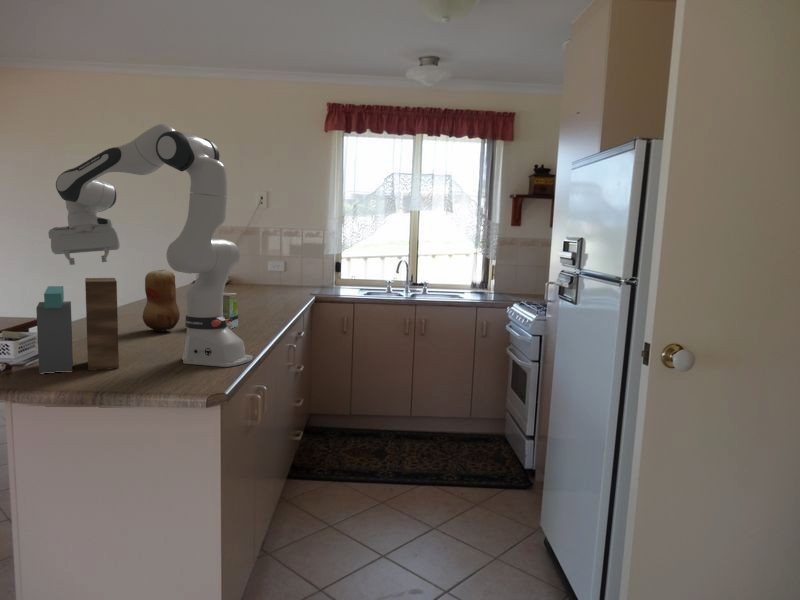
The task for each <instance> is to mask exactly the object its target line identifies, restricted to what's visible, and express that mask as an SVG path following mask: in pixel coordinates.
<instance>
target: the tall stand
mask: <svg viewBox="0 0 800 600" xmlns="http://www.w3.org/2000/svg"><path fill="white" fill-rule="evenodd" d="M84 280H85V281H84V282H85V289H84V290H85V307H86V309H85V316H86V317H85V318H86V319H85V321H86V345H87V346H86V347H87V348H86V349H87V371H88V370H93V369H106V370H109V369H108V368H119V369H120V365H119V363H120V362H119V361H120V360H119V355H120V354H119V327H118V325H119V324H118V321H119V319H118V318H119V316H118V287H117V286H118V285H117V283H118V281H117V279H116V278H115V277H85V279H84ZM93 371H94V370H93Z"/></svg>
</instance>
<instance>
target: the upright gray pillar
mask: <svg viewBox="0 0 800 600" xmlns="http://www.w3.org/2000/svg"><path fill="white" fill-rule="evenodd" d="M35 310H36V326H37V327H36V329H37V330H36V331H37V350H38V351H37V353H38V356H37V357H38V374H39V373H43V372H56V371H72V372H73V369H72V367H74V353H73V328H72V327H73V324H72V320H73V319H72V302H71V301H70V300H69V301H67V300H66V301H65V300H63V304H62V308H45V305H44V301H39V302H38V303H37V305H36V309H35Z"/></svg>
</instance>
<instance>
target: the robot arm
mask: <svg viewBox="0 0 800 600" xmlns="http://www.w3.org/2000/svg"><path fill="white" fill-rule="evenodd" d="M164 165H167V166H169V167H172V168H174V169H176V170H177V171H179V172H184V171H186V173H187V174H188V175H189V178H190V188H189V200H188V201H189V202H188V213H187V219H186V220H185V224H184V226H183V228H182V231H181V232H180V233H179V235H178V236H177V237H176V239H175V240H173V241H172V242H171V243H170V244H169V245H168V247H167V250H166V260H167V263H168V265H169V267H170V268H171V270H173V271H175V272H178V273H183V274H198V277H197V279H196V281H195V282H194V284H193V285H192V286H190V287H189V288H188V290H187V291H186V292H187V293H186V315H185V320H184V323H185V325H184V326H185V327H186V328H185V329H186V334H185V342H184V343H185V344H184V349H183V354H182V356H181V360H183V361H182V363H183V364H184V365H185V364H187V365H197V366H198V365H199V366H211V367H220V368H221V367H222V368H229V367H234V366H239V365H243V364H245V363H248V362H250V361H252V360H253V355H250V354H246V347H245V342H244V341H243V340H242V338H240V337H239V336H238V334H236V333H234V332H233V330H232V329H231V330H232V331H231V330H230V329H229V328H228V327H227V326H228V325H227V322H230V321H228V320H229V319H230V318H229V319H225V317H224V315H223V293H225V287H226V283H227V281H228V278H229V276H230V274H231V272H233V271H232V270H234V269H235V268H236V267H237V265H238V263H239V261H240V257H241V256H240V250H239V247H238V246H237V244H236V243H235V242H233V241H231V240H228V239H223V238H213V236H214V234H215V233H216V231H217V229H218V228H219V227H220V226H222V225H223V224H224V222H225V221H226V213H227V212H226V211H227V203H228V202H227V199H228V179H227V178H228V177H227V176H228V175H227V170H226V167H225V164H224V163H222V162H221V161H220V151H219V148H218V146H217V145H216V144H215V143H214V142H212V141H210V140H208V139H207V138H203V137H199V136H196V135H195V134H192V133H189V132H181V131H176V130H175V129H174V128H173V127H172V126H170V125H169V124H166V123H159V124H156V125H154V126H152V127H150V128H148V129H147V130H145V131H144V132H142V133H140V134H139V135H138V136H137V137H136V138H135V139H133V140H131V141H129V142H128V143H125V144H122V145H120V146H119V145H118V146H114V147H111V148H108V149H104V150H103V151H101V152H100V153H99V152H98V153H97V154H96V155H95V156H92V157H91V158H90V159H88V160H86V161H84V162H83V163H80V164H79V165H78V166H75V167H72V168H69V169H66V170H65V171H63V172H61V174H59V175H58V177H57V179H56V181H55V189H56V191H57V193H58V195H59V197H60V198H61V199H62V200H64V201H65V208H66V210H67V224H68V225H67V226H60V227H58V226H54V227H52V228H50V229H49V231H48V238H49V239H50V249H51V252H52V254H54V255H64V256H65V258H66V259H67V260H68V261H69V262H68V263H69V266H75V265H76V263H75V261H76V260H75V258H74V257H71V256H70V255H71V254H79V253H90V252H104V255H100V257H101V262H102V263H107V262H108V261H107V257H108V256H109V253H110V251H117V250H119V249H120V246H121V245H120V240H119V236H118V233H117V231H116V229H115V228H114V226H113V222H112V219H110V218H105V217H101V216H100V217H99V216H97V213H101V212H104V211H107V210H108V209H111V208H112V207H113V206H114V205H115V204H116V202H117V190H116V187H115V186H114V185H113V184H112V183H111V182H110V183H109V182H108V181H105V180H102V179H99V178H100V177H103V175H105V174H108V173H126V174H132V175H138V176H147V175H150V174H152V173H154V172H156V171H158V170H159V169H160V168H162V167H163V166H164Z"/></svg>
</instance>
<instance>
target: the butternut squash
mask: <svg viewBox="0 0 800 600" xmlns="http://www.w3.org/2000/svg"><path fill="white" fill-rule="evenodd" d="M176 287H177V286H176V276H175V274H174V272H173V271H171V270H170V269H166V268H165V269H156V270H151V271H150V272H148V273H147V274H146V275H145V278H144V292H145V296H146V304H145V306H144V308H143V311H142V320H143V323H144V325H145V326H146V327H147V328H150V329H151V330H153V331H154V332H162V333H163V332H166V331H168V330H172V329H174V328H175V327H176V326H177V324H178V323H179V321H180V319H181V318H180V316H181V314H180V308H179V306H178V304H177V303H178V302H177V293H176V292H177V290H176V289H177V288H176Z"/></svg>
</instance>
